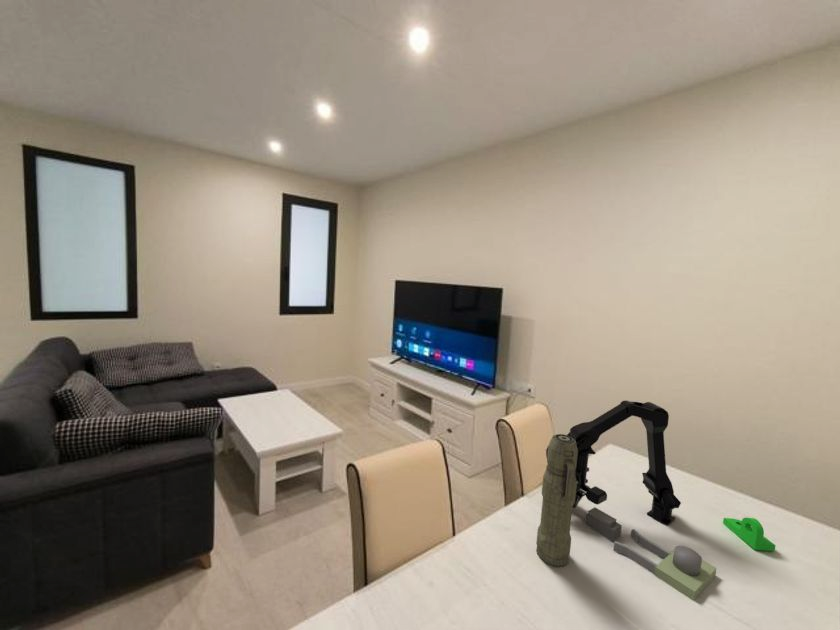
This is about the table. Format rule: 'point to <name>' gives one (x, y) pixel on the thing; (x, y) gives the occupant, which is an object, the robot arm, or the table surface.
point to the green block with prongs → (672, 565)
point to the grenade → (557, 501)
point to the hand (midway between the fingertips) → (573, 507)
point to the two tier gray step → (603, 524)
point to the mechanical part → (750, 533)
